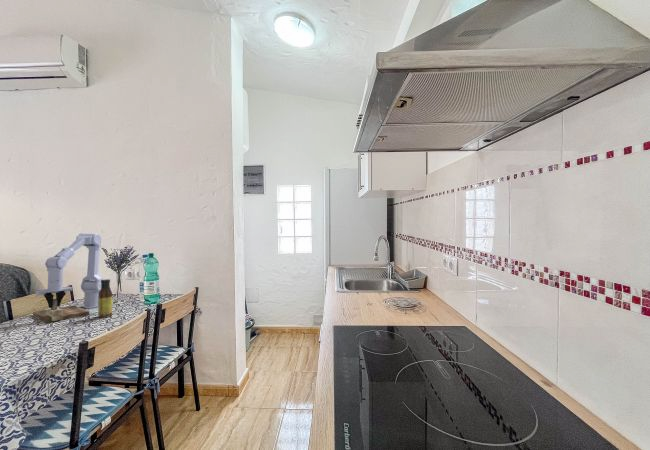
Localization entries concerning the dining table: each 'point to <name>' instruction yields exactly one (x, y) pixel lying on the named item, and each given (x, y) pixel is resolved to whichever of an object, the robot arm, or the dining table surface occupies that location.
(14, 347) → the dining table surface
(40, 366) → the dining table surface
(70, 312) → the board
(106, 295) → the yellow labelled brown bottle
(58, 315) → the cream block
